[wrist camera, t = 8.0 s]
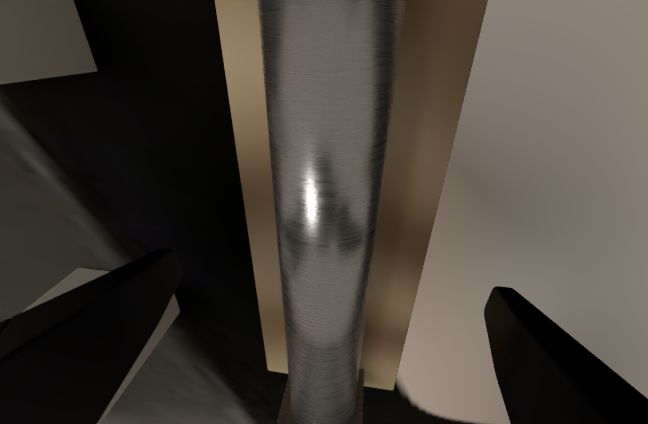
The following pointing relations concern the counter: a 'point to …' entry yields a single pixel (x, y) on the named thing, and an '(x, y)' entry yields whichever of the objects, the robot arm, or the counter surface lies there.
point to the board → (399, 176)
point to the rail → (327, 185)
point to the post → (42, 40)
